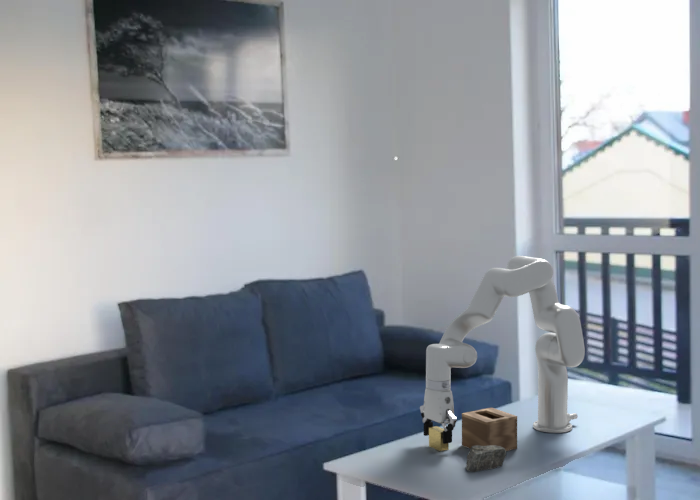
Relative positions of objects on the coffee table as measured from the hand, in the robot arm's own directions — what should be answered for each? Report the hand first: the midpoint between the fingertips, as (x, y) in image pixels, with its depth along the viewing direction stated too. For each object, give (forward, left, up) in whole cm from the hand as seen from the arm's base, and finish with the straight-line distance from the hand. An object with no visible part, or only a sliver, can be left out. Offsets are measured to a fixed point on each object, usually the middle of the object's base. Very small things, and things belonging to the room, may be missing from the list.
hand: (437, 438), depth 281 cm
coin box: (-14, +8, -3) cm, 16 cm away
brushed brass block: (0, 0, -3) cm, 3 cm away
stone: (-1, +21, -3) cm, 22 cm away
